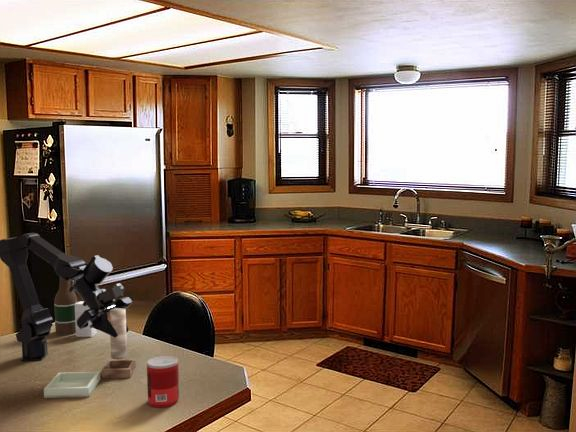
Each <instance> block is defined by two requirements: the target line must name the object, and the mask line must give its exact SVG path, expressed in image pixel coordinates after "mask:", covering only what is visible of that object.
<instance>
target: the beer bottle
mask: <svg viewBox="0 0 576 432" xmlns="http://www.w3.org/2000/svg"><path fill="white" fill-rule="evenodd" d="M70 283H72V282H71V280H67V281H66V280H63V279H62V278H61V277H60V276H59V287H58V291H57V292H56V294H55V297H54V302H53V304H54V329H55V333H56V335H59V336H70V335H73V334H74V333H75V334H76V324H75V304H76V303H78V298H77V294H76V291H74V292H69V288H70ZM75 334H74V335H75Z"/></svg>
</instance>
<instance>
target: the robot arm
mask: <svg viewBox="0 0 576 432" xmlns="http://www.w3.org/2000/svg"><path fill="white" fill-rule="evenodd" d="M29 250H30V251H32V252H33V253H34V254H35V255H37V256H38V257H40V258H41V259H43V260H44V261H46V262H47V263H49V264H50V265H51V266H52V268H53V269H54V273H56V275H57V276H58V277H59V278H60V277H61V278H62V279H63V280H66V281H67V280H70V281H71V280H74V279H76V280H75V281H74V282H73V281H72V282H71V283H70V288H69V292H76V293H77V294H78V295H79V296H80V298H81V299H82V300H83V301H84V303H83V306H84V307H85V306H88V307H89V308H90V309H88V310H85V311H84V312H83V313H82V314H81V316H80V317H79V318H78V319H77V325H78V327H79V328H80V329H83V328H86V327H87V326H88V321H91V323H92V325H91V326H90V328H95V329H96V331H100V332H103V333H104V334H106V335H109V336H110V335H111V336H113V337H115V338H116V337H117V336H118V334H117V332H116V331H115V329H114V328H113V326H112V325H111V323H110V319H108V317H109V316H108V315H110V310H112V309H116V308H123V309H126V310H127V309H128V308H129V307H130V306H131V305H132V303H133V300H132V299H131V298H130V297H129V296H124V293H125V291H126V290H125V286H123V285H122V283H120V282H118V283H116V284H113V285H112V288H109V289H106V288H100V286H98V285H100V284H102V283H103V281H105V280H106V278H107V277H108V276H109V275H110V273H111V272H112V271H113V269H114V267H113V264H112V263H111V261H109V260H108V259H106V258H103V257H100V255H98V254H96V255H93V256H92V257H91V259H90V260H89V262H85V261H84V259H82V258H80V257H78V256H75V255H72V254H66V253H65V252H63V251H61V250H60V249H58V248H57V247H55V245H52V244H51V243H49V242H48V241H47V240H46V239H44V238H43V237H41V236H40V234H39V233H36V232H30V233H24V234H22V235H20V236H16V237H15V236H14V237H9V238H3V239H0V260H1V261H2V262H3V263H4V264H5V265H6V266H7V267H8V269H9V271H10V273H11V277H12V281H13V282H14V286H15V289H16V292H17V294H18V297H19V301H20V305H21V307H22V315H21V320H20V322H21V323H20V324H21V327H20V330H19V331H17V333H16V335H15V338H16V340H17V342H19V343H21V350H22V351H21V353H22V354H21V355H22V357H20V360H19V361H20V362H21V361H24V362H25V361H41V360H43V359H44V358H46V356H47V355H48V354H49V352H48V351H49V350H48V341H46V337H48V336H50V333H51V330H52V327H53V320H54V318H53V317H52V315H51V312H50V311H51V310H50V309H49V308H48V307H47V308H44V307H43V306H42V305H41V304H40V301H39V298H38V294H37V292H36V289H35V287H34V283H33V280H32V276H31V273H30V271H29V268H28V264H27V260H28V256H29ZM123 296H124V297H123ZM116 299H117V300H116ZM129 331H130V330H129V327H128V324H127V322H126V334H127V333H128V332H129Z"/></svg>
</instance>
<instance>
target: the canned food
mask: <svg viewBox="0 0 576 432" xmlns="http://www.w3.org/2000/svg"><path fill="white" fill-rule="evenodd" d="M179 374H180V373H179V359H178V358H177V357H175V356H171V355H161V356H156V357H152V358H150V359H148V360H147V361H146V378H147V382H146V383H147V386H146V387H147V402H148V405H149V406H151V407H154V408H167V407H171V406H173V405H175V404H176V403H178V401H179V398H180V393H179V392H180V384H179V380H180V379H179Z"/></svg>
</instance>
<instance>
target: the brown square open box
mask: <svg viewBox="0 0 576 432" xmlns="http://www.w3.org/2000/svg"><path fill="white" fill-rule="evenodd" d="M136 368H137V359H135V358H134V359H133V358H132V359H108V360H107V362H106V363H105V364H104V366H103V368H102V369H101V379H122V378H123V379H124V378H125V379H127V378H128V379H129V378H132V376H133V374H134V372H135V370H136Z"/></svg>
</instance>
